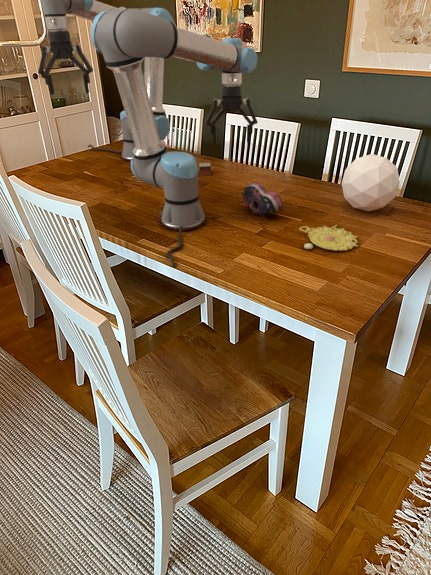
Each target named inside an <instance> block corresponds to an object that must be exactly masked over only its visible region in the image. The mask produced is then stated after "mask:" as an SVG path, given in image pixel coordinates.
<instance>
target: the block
mask: <svg viewBox="0 0 431 575" xmlns="http://www.w3.org/2000/svg"><path fill="white" fill-rule="evenodd" d="M211 167H212V166H211V162H199V168H198V169H199V176H200V177H201V176H212V168H211Z"/></svg>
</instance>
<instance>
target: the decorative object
mask: <svg viewBox="0 0 431 575" xmlns="http://www.w3.org/2000/svg"><path fill="white" fill-rule="evenodd" d="M303 228H304V229H305V230H304V229H303ZM299 231H300V232H303V233H305V234H307V237H308V238H309V240H310V241H311V243H304V244H303V248H304V249H305V250H313V249H314V245H315V246H316V247H318V248H321V249H324V250H328V251H335V252H341V251H348V250H352V249H354V247H356V248H358V247H359V245H358V244H357V243H359V240H357V238H359V237H358V235H353V234H352V231H347V230H346V229H345V228H344V227H342V228H338V224H335V225H333V226H331V227H328V226H327V225H326V224H325V225H323V226H322V227H321V226H317V227H316V228H314V227H309V226H308V225H302V226H300V227H299ZM313 244H314V245H313Z"/></svg>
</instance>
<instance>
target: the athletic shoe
mask: <svg viewBox="0 0 431 575" xmlns="http://www.w3.org/2000/svg"><path fill="white" fill-rule="evenodd" d="M241 197H242V199H243V201H238V203H239V204H241V205H245V206H246V207H247V208H248V210H249V211H250V210H251V213H252V214H255V215H260V217H266V216H267V215H270V214H274V213H275V212H279V211H282V210H283V209H284V205H283V201H282V198H281V196H280V195H279V194H278V192H277V191H274V190H269V191H267V190H266V189H265V187H264V186H263V185H262V184H261V183H258V182H251V183H249V184H247V186H246V187H245V188H244V190H243V191H242V192H241Z"/></svg>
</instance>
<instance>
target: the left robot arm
mask: <svg viewBox="0 0 431 575" xmlns="http://www.w3.org/2000/svg"><path fill="white" fill-rule="evenodd" d="M40 1H41V5H42V10H43V11H42V12H43V15H44V21H45V25H46V30H48V32H47V35H48V41H49V46H47V45H42V47H41V51H42V52H41V57H40V61H39V67H38V71H37V73H38V75H42V76H43V77H44V81H45V85H46V86H48V88H49V93H50V95H52V96H53V95H54V94H55V89H54V85H53V78H52V75H51V74H50V72H51V70H52V68H53V67H54V65H55V63H56V61H57V60H68V59H69V60H70V61H71V62H73V63H74V64H75V65H76V67H78V69H79V70H80V71H82V73H83V74H82V78H83V85H84V90H85V94H89V93H90V88H89V84H90V83H91V79H90V73H93V72H94V68H93V67H92V65H91V63H90V62H89V60H88V59H87V57H86V55H85V53H84V52H83V50H82V46H81V45H80V44H76V45H73V44H72V39H71V34H70V31H69V24H68V18H67V15H70V16H73V17H77V18H81V19H84V20H87V21H90V22H93V20H94V18H95V17H96V16H97V15H98V14H99V13H101V12H103V11H108V10H112V9H115V10H130V9H131V8H128V7H124V6H119V7H116V6H113V5H109V4H107V3H104V2H100V1H98V0H40ZM134 9H135V10H140V11H144V12H146V13H149V14H152V15H155V16H157V17H160V18H163V19H165V20H168V21H171V22H173V23H174V24H175V22H174V19H173V16H172V15H171V13H170V12H169V11H168V10H167V9H166V8H164V7H138V8H134ZM73 51H75V52H76V53H77V55H78V56H79V58H80V59H81V61H82V62H81V61H80V60H79V59H78V58H76V56H75V55H74V54H73ZM50 52H51V53H52V56H51V58H50V60H49V62H48V64H47V63H46V62H47V59H48V54H49V53H50ZM46 64H47V66H46ZM84 65H85V66H84ZM45 66H46V68H45ZM164 72H165V59H164V58H159V57H144V71H143V76H144V80H145V84H146V88H147V92H148V96H149V100H150V104H151V107H152V111H153V115H154V119H155V123H156V127H157V131H158V135H159V139H160V140H161V141H163V140H165V139H166V138H167V137H168V135H169V133H170V130H171V122H170V120H169V118H168V117H167V116H166V110H165V109H164V107H163V104H164V101H163V100H164V74H165V73H164ZM119 117H120V118H119V119H120V125H121V133H122V139H123V140H122V141H123V145H122V150H113V149H108V148H98V147H94V146H93V145H92V144H88V145H87V148H90V147H91V149H93V150H95V151H103V152H110V153H113V154H114V153H115V154H121V159H122V160H123V161H126V162H131V160H132V156H133V152H132V151H133V149H134V147H135V144H134V140H133V137H132V133H131V130H130V127H129V123H128V120H127V116H126V113H125V110H122V111H121V112H120V113H119Z"/></svg>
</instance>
